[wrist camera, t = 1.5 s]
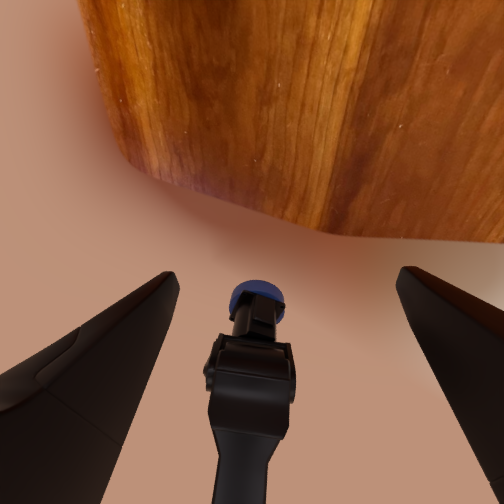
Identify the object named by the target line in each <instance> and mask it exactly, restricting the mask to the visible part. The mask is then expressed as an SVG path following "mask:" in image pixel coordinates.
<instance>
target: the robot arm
mask: <svg viewBox="0 0 504 504" xmlns="http://www.w3.org/2000/svg"><path fill="white" fill-rule="evenodd" d="M396 290H397V293H398V295H399V298H400V301H401V303H402V306H403V309H404V312H405V314H406V317H407V320H408V322H409V325H410V327H411V329H412V331H413V333H414V335H415V337H416V339H417V341H418V343H419V345H420V347H421V349H422V351H423V353H424V355H425V357H426V359H427V361H428V363H429V365H430V367H431V369H432V371H433V373H434V375H435V377H436V379H437V381H438V382H439V384H440V387H441V389H442V391H443V392H444V394H445V396H446V398H447V400H448V402H449V404H450V406H451V408H452V410H453V412H454V414H455V416H456V418H457V420H458V422H459V424H460V426H461V428H462V430H463V432H464V434H465V436H466V438H467V440H468V442H469V444H470V446H471V448H472V450H473V452H474V454H475V456H476V458H477V460H478V462H479V464H480V466H481V468H482V469H483V472H484V474H485V476H486V477H487V480H488V481H489V482H490V486H491V488H492V490H493V492H494V494H495V496H496V498H497V500H498V502H499V504H504V311H502V310H501V309H498V308H497V307H495V306H493V305H491V304H489V303H486V302H485V301H483V300H481V299H479V298H477V297H475V296H473V295H471V294H469V293H467V292H465V291H463V290H461V289H459V288H457V287H455V286H453V285H451V284H449V283H447V282H445V281H443V280H442V279H440V278H438V277H436V276H434V275H431V274H430V273H428V272H426V271H424V270H422V269H420V268H418V267H416V266H404V267H402V268H401V270H400V273H399V276H398V278H397V281H396ZM179 291H180V286H179V283H178V281H177V278H176V276H175V273H174V272H172V271H165V272H162V273H161V274H160V275H158V276H156V277H154V278H153V279H152V280H150V281H149V282H147V283H145V284H144V285H142V286H141V287H139V288H138V289H136V290H135V291H133V292H131V293H130V294H129V295H127V296H126V297H124V298H123V299H121V300H119V301H118V302H116V303H115V304H113V305H112V306H110V307H109V308H107V309H105V310H104V311H102V312H101V313H99V314H98V315H96V316H95V317H93V318H92V319H90V320H89V321H87V322H86V323H84V324H83V325H81V327H78V328H76V329H75V330H73V331H72V332H70V333H69V334H67V335H66V336H64V337H62V338H61V339H59V340H58V341H56V342H55V343H53V344H51V345H50V346H48V347H47V348H45V349H43V350H41V351H40V352H38V353H36V354H35V355H33V356H31V357H30V358H28V359H26V360H25V361H23V362H21V363H19V364H18V365H16V366H14V367H13V368H11V369H9V370H7V371H6V372H4V373H2V374H1V375H0V504H100V503H101V500H102V498H103V495H104V493H105V490H106V488H107V485H108V483H109V480H110V477H111V475H112V472H113V470H114V467H115V465H116V462H117V460H118V457H119V454H120V452H121V449H122V446H123V444H124V441H125V439H126V436H127V434H128V431H129V428H130V426H131V423H132V421H133V418H134V416H135V413H136V411H137V408H138V405H139V403H140V400H141V398H142V395H143V393H144V390H145V388H146V385H147V382H148V380H149V377H150V375H151V372H152V370H153V367H154V365H155V362H156V359H157V357H158V354H159V352H160V349H161V347H162V344H163V341H164V339H165V336H166V334H167V331H168V329H169V326H170V323H171V320H172V317H173V313H174V309H175V306H176V302H177V298H178V295H179ZM244 293H246V294H244ZM284 309H285V303H283V302H280V301H277V300H274V299H271V298H268V297H265V296H262V295H260V294H257V293H254V292H251V291H248V290H242V292H241V294H240V296H239V298H238V300H237V302H236V304H235V306H234V308H233V310H232V312H231V314H230V317H229V320H231V321H233V322H234V327H233V332H232V336H230V335H224V334H222V333H220V334H219V336H218V339H216V341H215V342H214V343H213V347H212V351H211V354H210V356H209V358H208V360H207V362H206V364H205V366H204V369H203V374H204V376H205V377H206V391H210V392H211V395H210V400H209V405H208V416H209V420H210V425H211V428H212V431H213V435H214V439H215V443H216V446H217V451H218V454H219V458H218V465H217V472H216V478H215V485H214V491H213V498H212V504H266V489H267V470H268V463H269V461H270V459H271V457H272V455H273V453H274V451H275V449H276V447H277V446H278V444H279V442H280V440H283V439H284V437H285V435H286V432H287V430H288V428H289V406H290V403H291V404H292V403H293V401H294V397H295V390H296V371H295V365H294V360H293V355H292V350H291V344H290V343H280V342H276V321H277V319H278V318H279V317H280V315H281V314H282V312H283V311H284Z"/></svg>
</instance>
